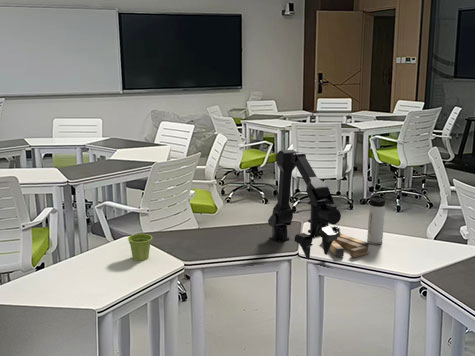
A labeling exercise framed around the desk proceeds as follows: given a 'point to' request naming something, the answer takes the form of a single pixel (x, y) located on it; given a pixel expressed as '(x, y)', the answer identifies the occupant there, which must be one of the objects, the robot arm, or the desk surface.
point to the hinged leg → (336, 249)
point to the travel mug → (376, 220)
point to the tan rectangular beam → (353, 245)
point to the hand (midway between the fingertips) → (317, 256)
